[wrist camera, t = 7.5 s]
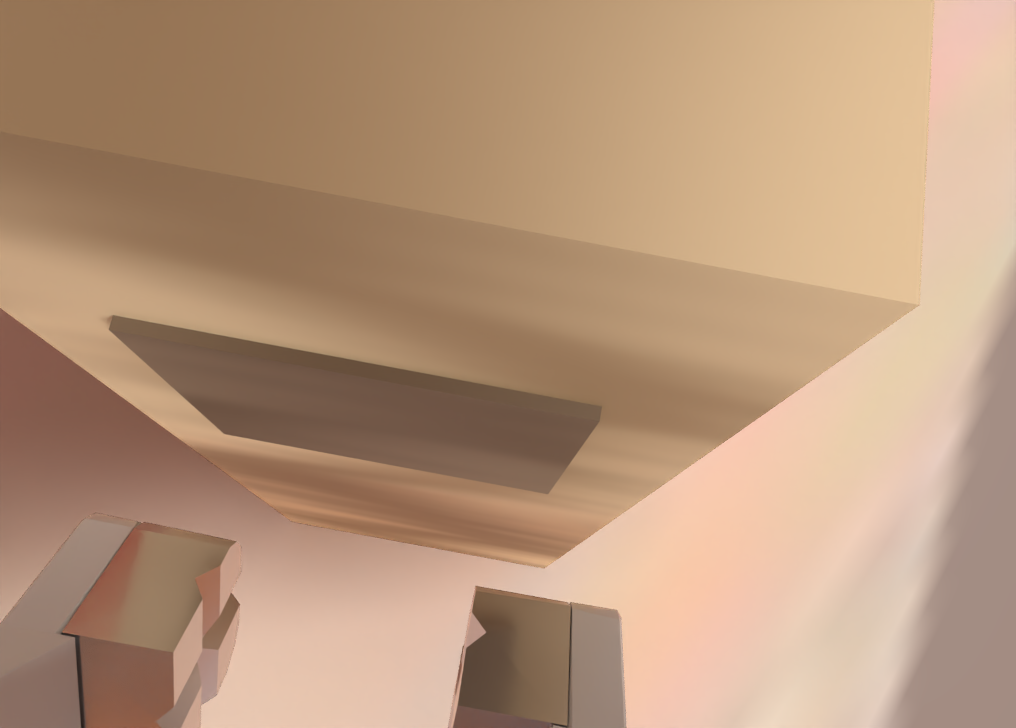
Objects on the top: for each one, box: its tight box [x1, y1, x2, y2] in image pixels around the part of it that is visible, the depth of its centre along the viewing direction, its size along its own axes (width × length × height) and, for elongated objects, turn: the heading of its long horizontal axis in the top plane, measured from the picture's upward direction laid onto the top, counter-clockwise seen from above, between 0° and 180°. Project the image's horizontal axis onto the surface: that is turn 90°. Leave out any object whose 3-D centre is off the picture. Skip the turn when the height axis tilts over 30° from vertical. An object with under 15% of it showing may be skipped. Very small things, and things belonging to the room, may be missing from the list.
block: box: [0, 0, 934, 568], centre depth 12 cm, size 5×5×15 cm
